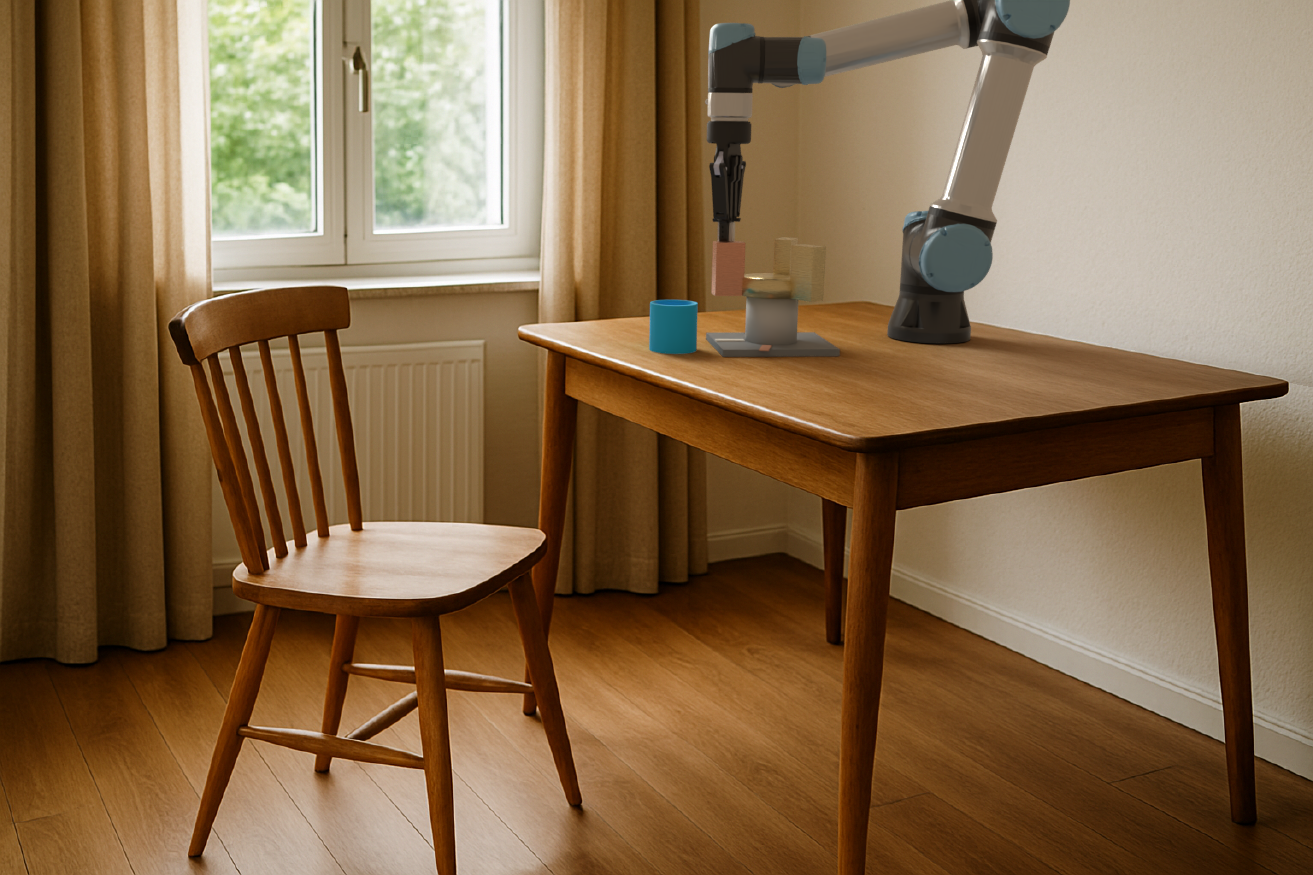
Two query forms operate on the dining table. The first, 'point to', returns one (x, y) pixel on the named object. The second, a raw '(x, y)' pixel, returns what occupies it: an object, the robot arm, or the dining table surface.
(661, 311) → the mug
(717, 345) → the post base
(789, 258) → the three-blade desk fan
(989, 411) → the dining table surface
